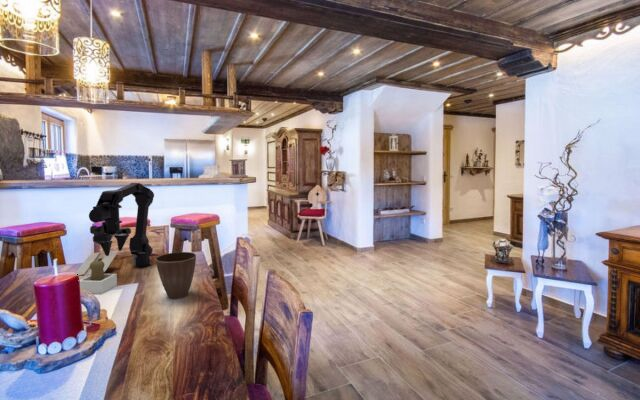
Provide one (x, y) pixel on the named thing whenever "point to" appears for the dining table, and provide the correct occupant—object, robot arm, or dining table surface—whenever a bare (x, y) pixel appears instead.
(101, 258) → the grey slanted panel stand
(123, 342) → the dining table surface
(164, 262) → the plant pot
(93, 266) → the cork
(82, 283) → the grey open box
